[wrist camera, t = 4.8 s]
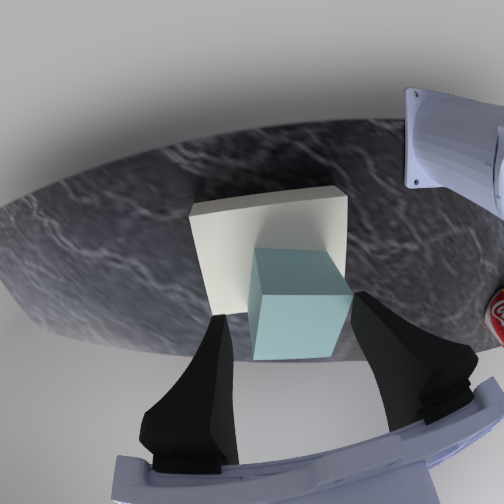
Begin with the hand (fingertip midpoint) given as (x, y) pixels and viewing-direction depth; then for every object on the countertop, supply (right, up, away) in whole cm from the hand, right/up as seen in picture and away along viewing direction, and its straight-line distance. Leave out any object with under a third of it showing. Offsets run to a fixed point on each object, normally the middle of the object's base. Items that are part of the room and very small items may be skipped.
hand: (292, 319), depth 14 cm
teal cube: (0, +1, +6) cm, 6 cm away
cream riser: (-1, +4, +7) cm, 8 cm away
